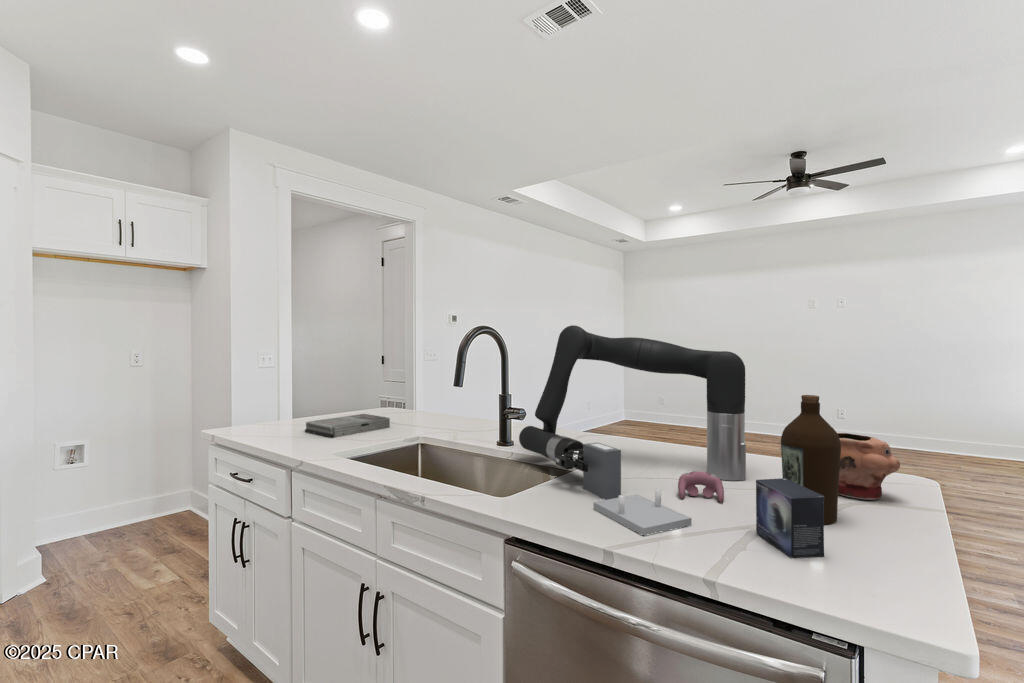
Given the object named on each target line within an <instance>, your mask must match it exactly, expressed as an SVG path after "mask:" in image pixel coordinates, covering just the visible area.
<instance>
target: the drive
mask: <svg viewBox="0 0 1024 683" xmlns="http://www.w3.org/2000/svg"><path fill="white" fill-rule="evenodd" d="M583 461H584V462H587V463H588V472H583V471H582V473H583V474H582V476H583V477H582V488H583V490H584V491H586V492H589V493H590V494H593V495H594V496H597V497H598V498H600V499H603V500H604V499H605V500H608V499H614V498H619V495H622V449H619V448H616V447H613V446H611V445H607V444H605V443H604V444H603V443H601V442H590V443H583Z"/></svg>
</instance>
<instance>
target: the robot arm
mask: <svg viewBox="0 0 1024 683" xmlns="http://www.w3.org/2000/svg"><path fill="white" fill-rule="evenodd" d="M578 360H587V361H601V362H607V363H611V364H614V365H617V366H621V367H625V368H628V369H633V370H638V371H643V372H648V373H656V374H670V375H671V374H672V375H689V376H693V377H698V378H702V379H705V380H706V472H707V473H709V474H713V475H716V476H717V477H718V478H719V479H720V480H721V481H722V480H723V481H746V478H747V474H746V473H747V471H746V470H747V469H746V468H747V467H746V466H747V456H746V454H747V453H746V452H747V449H746V448H747V446H746V445H747V444H746V441H745V439H746V438H745V434H746V433H745V432H746V431H745V430H746V429H745V428H746V427H745V425H746V421H745V414H746V413H745V412H746V411H745V410H746V409H745V408H746V407H745V406H746V365H745V364H744V363H745V362H744V361H743V359H742V358H741V357H740V356H739V355H738V354H736V353H734V352H731V351H728V350H727V351H726V350H724V351H721V350H719V351H717V350H716V351H715V350H705V349H704V350H702V349H693V348H688V347H685V346H681V345H678V344H673V343H670V342H666V341H661V340H656V339H651V338H645V337H635V336H634V337H608V336H602V335H598V334H594V333H592V332H588V331H586V330H585V329H584V328H582V327H581V326H578V325H575V324H573V325H569V326H566V327H565V328H563V329H562V330H561V332H560V333H559V336H558V339H557V343H556V348H555V352H554V356H553V360H552V365H551V367H550V371H549V374H548V378H547V381H546V384H545V386H544V389H543V392H542V393H541V396H540V399H539V401H538V404H537V406H536V409H535V412H534V416H535V419H537V420H539V421H540V422H542V424H543V425H542V426H543V427H542V428H539V427H536V426H533V425H527V426H525V427H524V428H522V430H521V431H520V433H519V435H518V440H519V444H520V447H522V448H523V449H525V450H527V451H530V452H533V453H536V454H540V455H542V456H544V457H545V458H547V459H550V460H552V462H554V463H555V465H556V466H559V467H560V468H562V469H564V470H566V471H567V470H578V471H580V472H582V473H583V472H588V463H587V462H584V461H583V444H584V443H583V442H581V441H579V440H578V439H574V438H572V437H567V436H564V435H559V434H557V433H556V432H557V427H558V425H557V424H558V419H559V417H560V414H561V412H562V409H563V406H564V404H565V400H566V398H567V392H568V388H569V382H570V378H571V375H572V371H573V369H574V368H575V367H574V366H575V364H576V362H577V361H578Z"/></svg>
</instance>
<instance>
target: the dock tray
mask: <svg viewBox="0 0 1024 683" xmlns="http://www.w3.org/2000/svg"><path fill="white" fill-rule="evenodd" d="M654 491H655V492H654V493H655V494H654V495H655V496H654V497H655V500H652V499H649V498H647V497H645V496H642V495H640V494H638V493H636V494H632V495H626V496H625V495H624V494H621V495H619V498H614V499H608V500H604V499H603V500H597V501H593V510H594V511H597V512H598V513H600V514H602V515H603V516H605V515H606V517H607V518H609V519H611V520H612V521H615V522H617V523H619V524H620V525H622V526H624V527H625V528H627V527H628V529H629V528H630V529H629V530H631V529H632V531H633V530H634V531H633V532H635V531H636V532H635V533H637V532H638V533H640V534H642V535H647V534H651V533H655V532H660V531H665V532H667V531H666V530H669V531H671V530H670V529H674V530H676V529H675V528H678V529H681V528H680V527H683V528H686V527H685V526H687V527H690V526H689V525H691V526H692V517H691V516H688V515H686V514H685V513H681V512H679V511H676V510H674V509H672V508H670V507H668V506H665V505H663V504H662V489H661V488H655V490H654ZM638 533H637V534H638ZM660 533H661V532H660ZM640 534H639V535H640ZM642 535H641V536H642ZM647 536H648V535H647Z"/></svg>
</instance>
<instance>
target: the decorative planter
mask: <svg viewBox="0 0 1024 683" xmlns="http://www.w3.org/2000/svg"><path fill="white" fill-rule="evenodd" d="M837 434H838V436H839V439H840V442H841V456H840V470H839V486H838V496H839V495H841V496H844V497H848V498H853V499H859V500H869V501H870V500H877V499H880V498H882V494H883V489H882V483H883V481H884V480H885V478H886V477H887V476H889V475H891V474H894V473H896V472H897V471H899V470H900V469H901V468H900V467H901V461H900V460H899V459H897V458H896V457H895V456H894V455H893V454H892V452H891V446H890V445H889V444H888V443H887V442H886V441H883V440H881V439H878V438H875V437H873V436H867V435H860V434H856V433H855V434H853V433H846V432H837Z"/></svg>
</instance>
